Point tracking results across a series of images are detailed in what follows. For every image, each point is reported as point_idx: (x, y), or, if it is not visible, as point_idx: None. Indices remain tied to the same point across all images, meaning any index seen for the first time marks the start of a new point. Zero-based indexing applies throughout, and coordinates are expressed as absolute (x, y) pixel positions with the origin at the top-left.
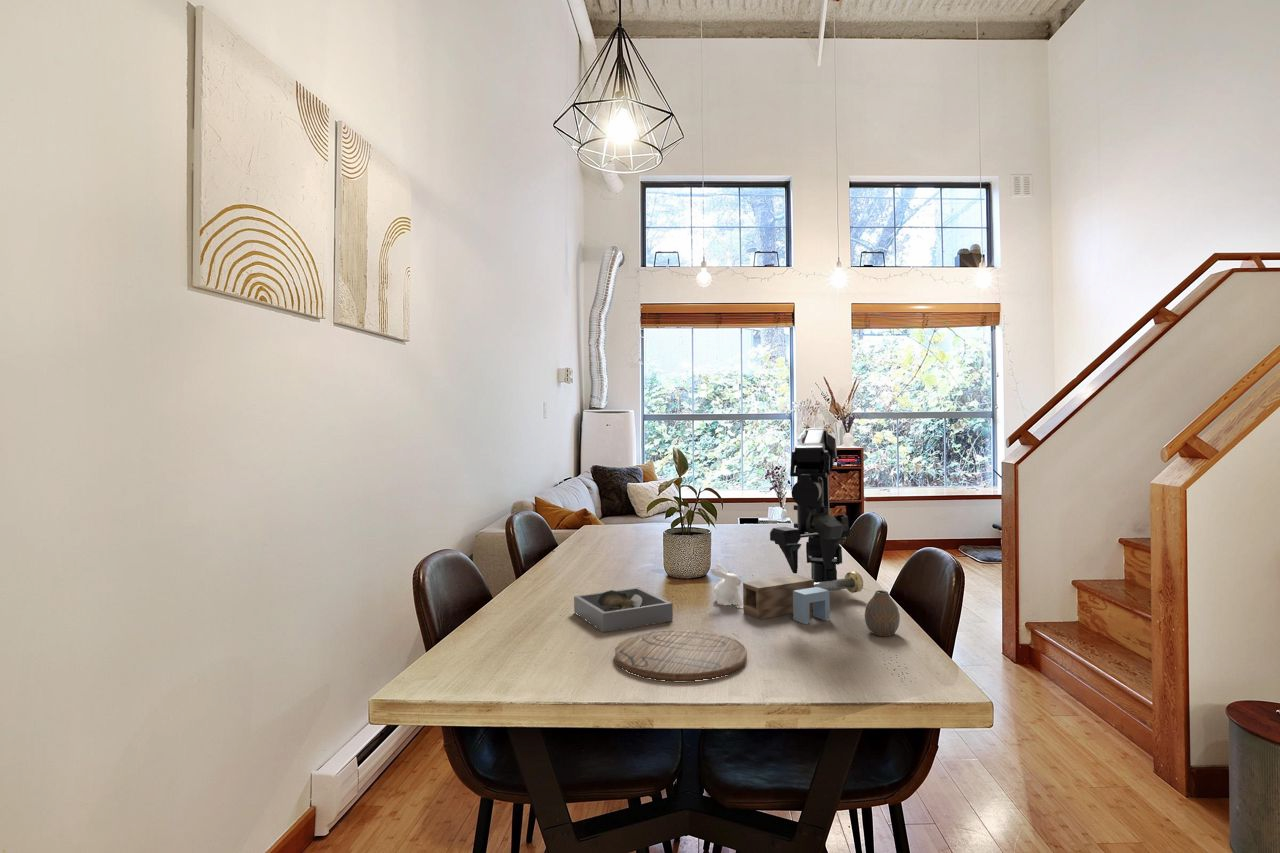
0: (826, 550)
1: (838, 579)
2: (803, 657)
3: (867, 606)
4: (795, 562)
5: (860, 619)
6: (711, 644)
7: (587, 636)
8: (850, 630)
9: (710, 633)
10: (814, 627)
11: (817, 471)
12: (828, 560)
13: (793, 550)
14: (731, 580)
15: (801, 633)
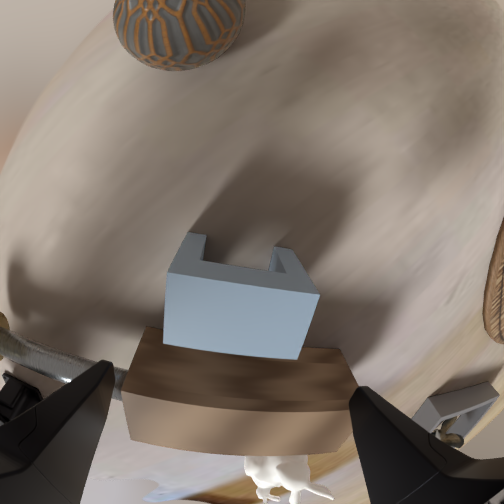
0: (69, 464)
1: (18, 361)
2: (475, 104)
3: (221, 20)
4: (409, 422)
5: (108, 171)
6: None
7: (499, 374)
8: (236, 110)
9: (496, 295)
10: (298, 208)
11: None
12: (92, 397)
13: (478, 462)
14: (305, 473)
15: (373, 198)
